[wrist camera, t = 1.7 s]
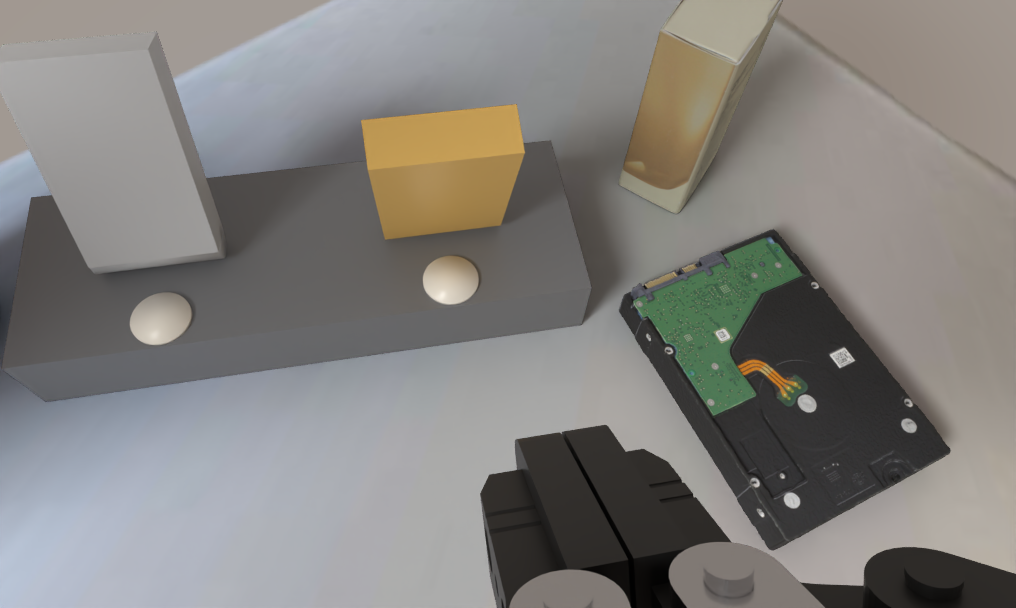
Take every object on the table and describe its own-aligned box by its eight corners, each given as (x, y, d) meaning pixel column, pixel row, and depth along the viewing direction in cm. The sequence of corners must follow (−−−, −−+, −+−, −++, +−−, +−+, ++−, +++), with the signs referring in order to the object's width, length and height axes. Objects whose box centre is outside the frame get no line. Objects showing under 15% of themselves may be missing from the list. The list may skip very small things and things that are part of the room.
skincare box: (658, 125, 48) (711, -43, 37) (718, 153, 47) (790, -11, 36) (613, 188, 45) (656, 26, 35) (676, 220, 44) (740, 63, 34)
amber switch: (386, 244, 38) (367, 170, 27) (381, 207, 38) (361, 120, 27) (499, 230, 38) (524, 152, 28) (493, 194, 39) (516, 104, 28)
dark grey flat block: (46, 401, 37) (-2, 367, 33) (67, 241, 41) (29, 195, 38) (581, 325, 40) (592, 285, 37) (544, 185, 45) (550, 138, 41)
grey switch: (96, 282, 35) (-15, 63, 28) (105, 258, 37) (3, 44, 29) (223, 266, 36) (147, 49, 29) (228, 243, 37) (157, 31, 30)
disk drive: (925, 466, 38) (757, 250, 44) (957, 449, 35) (775, 223, 41) (767, 557, 35) (611, 313, 41) (789, 546, 33) (621, 288, 39)
